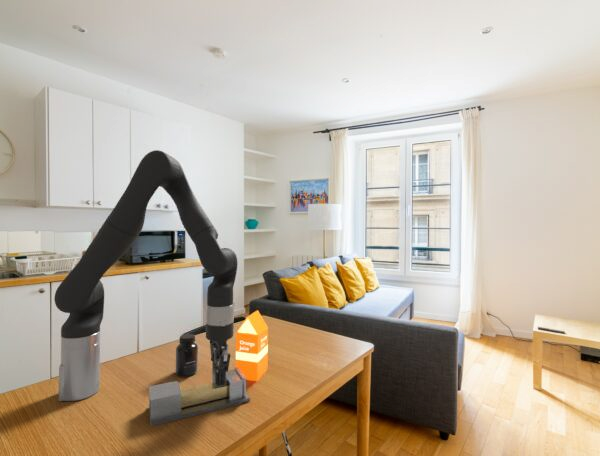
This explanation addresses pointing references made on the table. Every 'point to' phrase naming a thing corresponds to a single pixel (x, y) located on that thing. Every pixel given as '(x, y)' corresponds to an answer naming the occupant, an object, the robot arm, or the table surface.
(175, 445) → the table surface
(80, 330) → the robot arm
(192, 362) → the supplement bottle
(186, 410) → the rail
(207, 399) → the block
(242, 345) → the orange juice
